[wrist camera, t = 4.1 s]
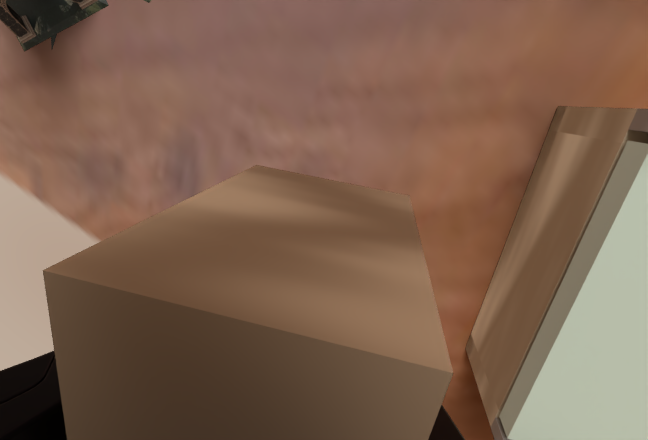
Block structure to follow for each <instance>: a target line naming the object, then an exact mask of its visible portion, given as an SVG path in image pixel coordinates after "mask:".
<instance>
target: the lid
mask: <svg viewBox="0 0 648 440" xmlns="http://www.w3.org/2000/svg"><path fill="white" fill-rule="evenodd" d="M499 417H500V419H501V422H502V425H503V428H504V431H505V433H506V436H507V439H511V440H648V144H646V143H640V142H634V141H627V143H626V145H625V147H624V150H623V152H622V154H621V156H620V158H619V160H618V162H617V165H616V167H615V169H614V171H613V173H612V175H611V177H610V180H609V182H608V184H607V186H606V188H605V190H604V193H603V195H602V197H601V199H600V201H599V203H598V205H597V208H596V210H595V212H594V214H593V216H592V218H591V220H590V223H589V225H588V227H587V229H586V231H585V233H584V235H583V238H582V240H581V242H580V244H579V246H578V248H577V250H576V253H575V255H574V257H573V259H572V261H571V263H570V265H569V268H568V270H567V272H566V274H565V276H564V278H563V280H562V283H561V285H560V287H559V289H558V291H557V293H556V295H555V298H554V300H553V302H552V304H551V306H550V308H549V311H548V313H547V315H546V317H545V319H544V321H543V323H542V326H541V328H540V330H539V332H538V334H537V336H536V338H535V341H534V343H533V345H532V347H531V349H530V351H529V353H528V356H527V358H526V360H525V362H524V364H523V366H522V368H521V371H520V373H519V375H518V377H517V379H516V381H515V383H514V386H513V388H512V390H511V392H510V394H509V396H508V398H507V401H506V403H505V405H504V407H503V409H502V411H501V413H500V416H499Z"/></svg>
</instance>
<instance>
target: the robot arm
mask: <svg viewBox="0 0 648 440" xmlns="http://www.w3.org/2000/svg"><path fill="white" fill-rule="evenodd" d="M0 440H67V435H66V428H65V422H64V415H63V408H62V401H61V394H60V387H59V380H58V373H57V366H56V359H55V352H54V351H52V352H50V353H47V354H44V355H42V356H39V357H37V358H34V359H32V360H29V361H26V362H23V363H21V364H18V365H15V366H12V367H10V368H7V369H4V370H2V371H0ZM428 440H465V439H464V438H463V436H462V435H461V433H460V431H459V430H458V428H457V427H456V425H455V424H454V422H453V421H452V419H451V418H450V416H449V415H448V413H447V412H446V410H445V409H444V407H443V406H442V404H441V407H440V410H439V412H438V415H437V418H436V420H435V423H434V426H433V428H432V431H431V433H430V436H429V439H428Z"/></svg>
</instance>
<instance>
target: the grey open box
mask: <svg viewBox="0 0 648 440" xmlns="http://www.w3.org/2000/svg"><path fill="white" fill-rule="evenodd" d="M627 141H634V142H640V143H646V144H648V109H632V108H600V107H568V106H558V108H557V110H556V113H555V115H554V118H553V121H552V123H551V126H550V128H549V131H548V134H547V136H546V139H545V142H544V144H543V147H542V149H541V152H540V155H539V157H538V160H537V162H536V165H535V168H534V170H533V173H532V175H531V178H530V181H529V183H528V186H527V189H526V191H525V194H524V196H523V199H522V202H521V204H520V207H519V209H518V212H517V215H516V217H515V220H514V223H513V225H512V228H511V230H510V233H509V236H508V238H507V241H506V243H505V246H504V249H503V251H502V254H501V257H500V259H499V262H498V264H497V267H496V270H495V272H494V275H493V277H492V280H491V283H490V285H489V288H488V291H487V293H486V296H485V298H484V301H483V304H482V306H481V309H480V311H479V314H478V317H477V319H476V322H475V325H474V327H473V330H472V332H471V335H470V338H469V340H468V343H467V345H466V352H467V355H468V358H469V361H470V364H471V367H472V370H473V374H474V377H475V380H476V383H477V386H478V389H479V392H480V396H481V399H482V402H483V405H484V408H485V411H486V414H487V418H488V421H489V424H490V427H491V430H492V433H493V436H494V440H511V439H507V436H506V433H505V431H504V428H503V425H502V422H501V419H500V417H499V416H500V413H501V411H502V409H503V407H504V405H505V403H506V401H507V398H508V396H509V394H510V392H511V390H512V388H513V386H514V383H515V381H516V379H517V377H518V375H519V373H520V371H521V368H522V366H523V364H524V362H525V360H526V358H527V356H528V353H529V351H530V349H531V347H532V345H533V343H534V341H535V338H536V336H537V334H538V332H539V330H540V328H541V326H542V323H543V321H544V319H545V317H546V315H547V313H548V311H549V308H550V306H551V304H552V302H553V300H554V298H555V295H556V293H557V291H558V289H559V287H560V285H561V283H562V280H563V278H564V276H565V274H566V272H567V270H568V268H569V265H570V263H571V261H572V259H573V257H574V255H575V253H576V250H577V248H578V246H579V244H580V242H581V240H582V238H583V235H584V233H585V231H586V229H587V227H588V225H589V223H590V220H591V218H592V216H593V214H594V212H595V210H596V208H597V205H598V203H599V201H600V199H601V197H602V195H603V193H604V190H605V188H606V186H607V184H608V182H609V180H610V177H611V175H612V173H613V171H614V169H615V167H616V165H617V162H618V160H619V158H620V156H621V154H622V152H623V150H624V147H625V145H626V143H627Z"/></svg>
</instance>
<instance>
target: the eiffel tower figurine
mask: <svg viewBox="0 0 648 440" xmlns="http://www.w3.org/2000/svg"><path fill="white" fill-rule="evenodd" d="M144 1H146V2H148V3H149V2H150V1H151V0H144ZM107 6H109V5H108V3H107V1H106V0H0V20H1V21H2V22H3V23H4V24H5V25H6V26H7V27H8V28H9V29H10V30H11V31H12V32H13V33H14V34H15V35H16V36H17V38H18V40H19V42H20V44H21V46H22V47H23V49H24V51H26V50H28V49H30V48H32V47H33V46H35V45H37V44H39V43H41V42H43V41H44V40H46V39H48V38H50V37H51V45H52V48H53V45H54V42H55V38H56V35H57V33H59V32H61V31H63V30H65V29H66V28H68V27H70V26H72V25H74V24H76V23H77V22H79V21H81V20H83V19H85V18H87V17H88V16H90V15H92V14H94V13H96V12H98V11H99V10H101V9H103V8H105V7H107Z"/></svg>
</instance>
